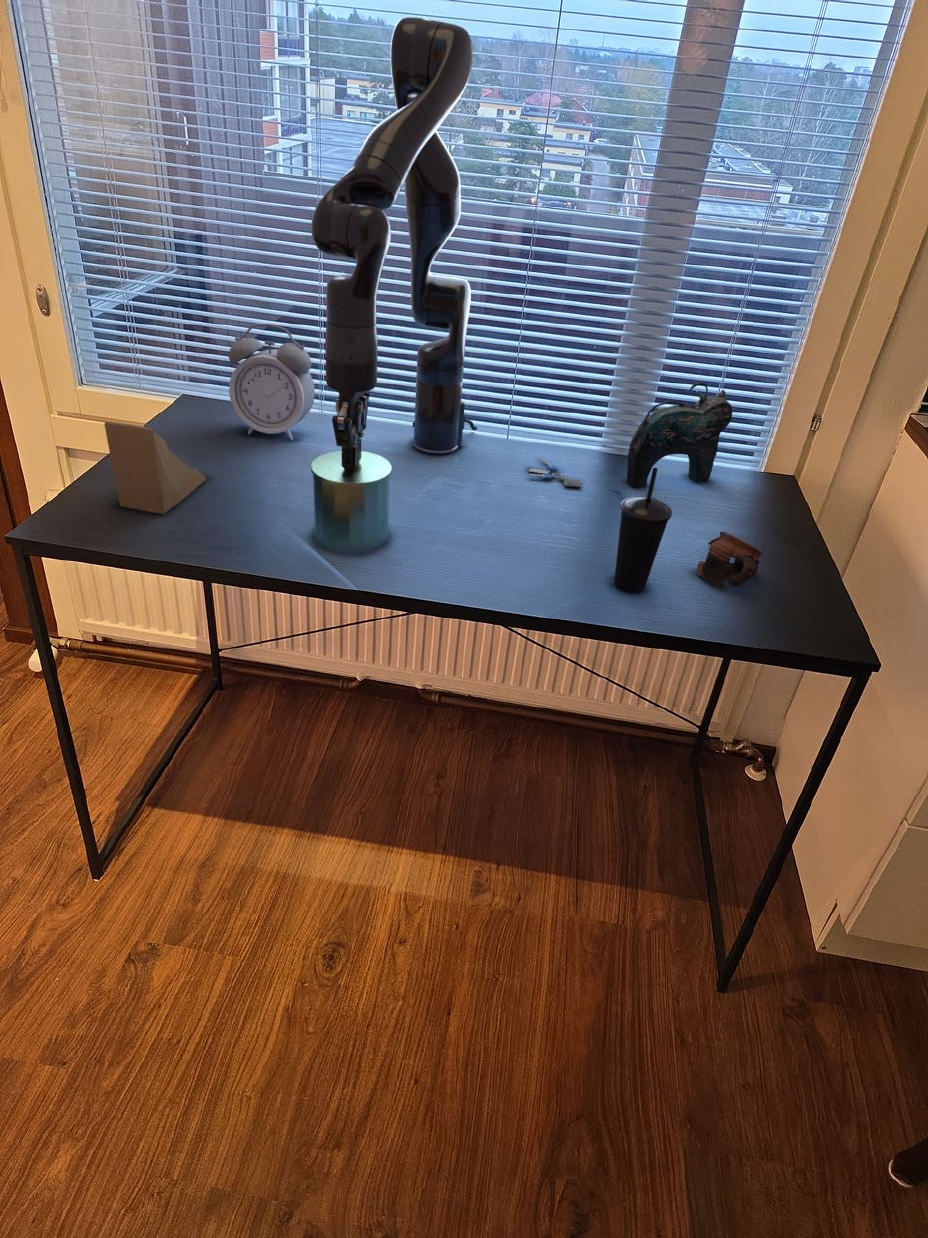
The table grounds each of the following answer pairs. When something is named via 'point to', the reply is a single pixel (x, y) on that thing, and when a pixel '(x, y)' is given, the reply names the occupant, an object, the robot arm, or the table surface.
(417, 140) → the robot arm
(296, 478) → the table surface
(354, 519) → the tin
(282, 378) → the alarm clock
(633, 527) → the drinking cup
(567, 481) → the key chain
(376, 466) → the lid
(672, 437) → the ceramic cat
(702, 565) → the brown wooden hut
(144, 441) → the sandwich container
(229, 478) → the table surface
